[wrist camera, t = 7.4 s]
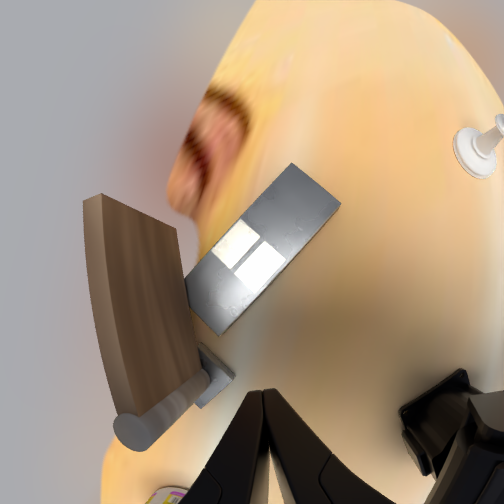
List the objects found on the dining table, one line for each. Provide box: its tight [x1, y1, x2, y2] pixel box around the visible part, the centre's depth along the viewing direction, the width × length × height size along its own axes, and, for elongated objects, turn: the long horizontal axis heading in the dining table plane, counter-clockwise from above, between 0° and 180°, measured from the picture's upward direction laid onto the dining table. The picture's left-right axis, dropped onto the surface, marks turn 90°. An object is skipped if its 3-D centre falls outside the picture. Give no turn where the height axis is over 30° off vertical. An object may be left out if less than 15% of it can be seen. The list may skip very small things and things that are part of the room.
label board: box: [184, 163, 341, 409], centre depth 20 cm, size 8×18×1 cm, turn 137°
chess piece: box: [453, 114, 504, 179], centre depth 14 cm, size 5×5×10 cm
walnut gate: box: [83, 193, 210, 452], centre depth 15 cm, size 2×12×9 cm, turn 12°
